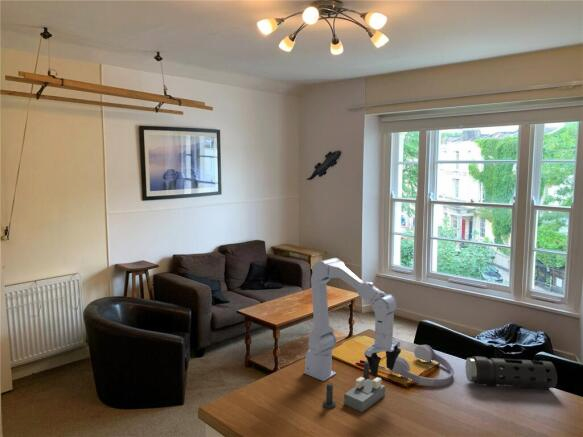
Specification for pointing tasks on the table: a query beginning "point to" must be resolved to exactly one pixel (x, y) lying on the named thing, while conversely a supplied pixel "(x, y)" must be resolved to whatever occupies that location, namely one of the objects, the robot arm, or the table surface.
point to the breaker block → (365, 395)
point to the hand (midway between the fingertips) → (382, 371)
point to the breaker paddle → (360, 382)
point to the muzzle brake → (511, 372)
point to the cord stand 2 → (366, 371)
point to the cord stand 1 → (329, 397)
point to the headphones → (427, 354)
